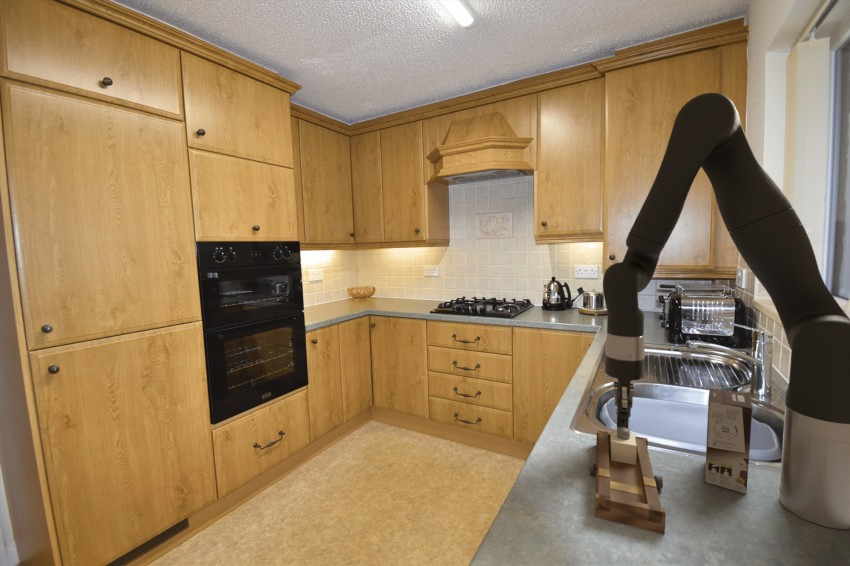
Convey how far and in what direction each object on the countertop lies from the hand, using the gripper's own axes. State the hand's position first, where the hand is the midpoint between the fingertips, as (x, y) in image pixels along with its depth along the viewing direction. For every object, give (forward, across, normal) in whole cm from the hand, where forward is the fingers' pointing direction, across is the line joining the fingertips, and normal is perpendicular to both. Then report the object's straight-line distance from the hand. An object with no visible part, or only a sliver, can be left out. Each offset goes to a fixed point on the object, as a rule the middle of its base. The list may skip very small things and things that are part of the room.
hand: (622, 431), depth 86 cm
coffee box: (+5, -3, -18) cm, 19 cm away
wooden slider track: (+4, -12, 0) cm, 13 cm away
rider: (+3, -5, 0) cm, 6 cm away
